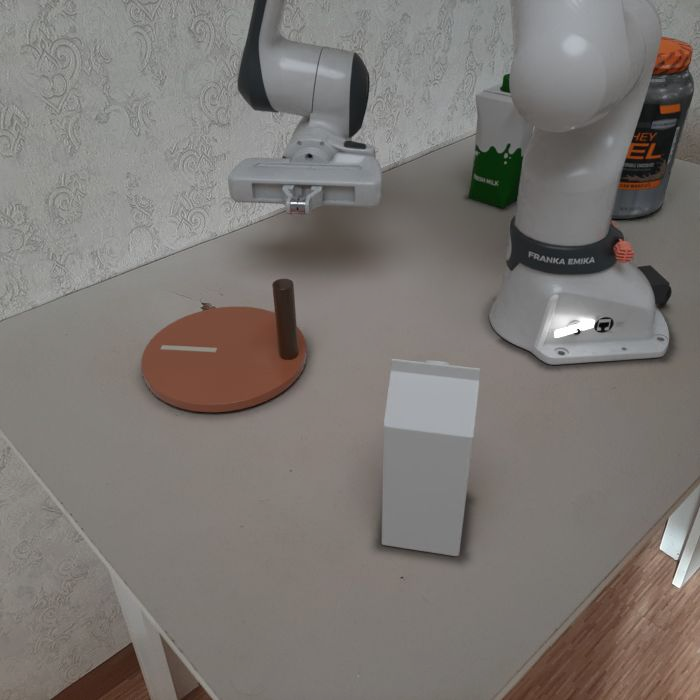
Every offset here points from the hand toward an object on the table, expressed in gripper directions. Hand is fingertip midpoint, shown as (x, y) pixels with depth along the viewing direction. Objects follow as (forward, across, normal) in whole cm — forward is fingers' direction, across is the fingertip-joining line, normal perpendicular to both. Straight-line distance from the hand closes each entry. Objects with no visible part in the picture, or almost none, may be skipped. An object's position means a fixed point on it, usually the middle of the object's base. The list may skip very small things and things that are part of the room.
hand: (297, 209), depth 89 cm
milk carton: (+35, +17, +15) cm, 42 cm away
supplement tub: (-38, +48, +15) cm, 63 cm away
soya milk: (-39, +28, +15) cm, 50 cm away
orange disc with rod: (+12, -8, +15) cm, 21 cm away
